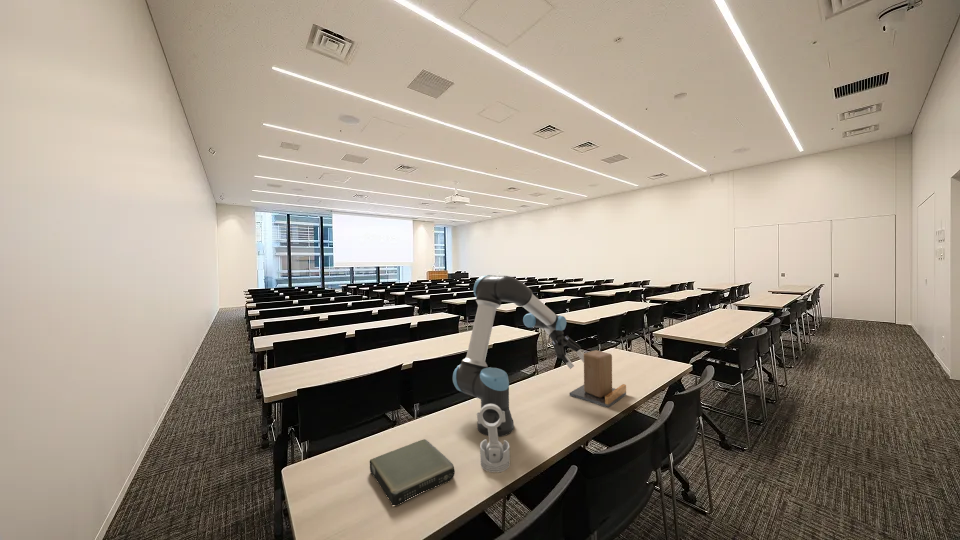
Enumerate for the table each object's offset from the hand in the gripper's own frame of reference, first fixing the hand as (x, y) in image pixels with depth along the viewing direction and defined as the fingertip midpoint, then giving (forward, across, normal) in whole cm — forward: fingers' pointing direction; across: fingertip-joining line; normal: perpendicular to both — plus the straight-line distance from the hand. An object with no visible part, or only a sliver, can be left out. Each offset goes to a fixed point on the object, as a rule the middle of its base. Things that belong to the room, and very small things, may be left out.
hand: (579, 364), depth 175 cm
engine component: (+17, +76, -2) cm, 78 cm away
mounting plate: (+17, 0, -2) cm, 17 cm away
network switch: (+7, +99, -13) cm, 100 cm away
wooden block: (+16, +1, -1) cm, 16 cm away
